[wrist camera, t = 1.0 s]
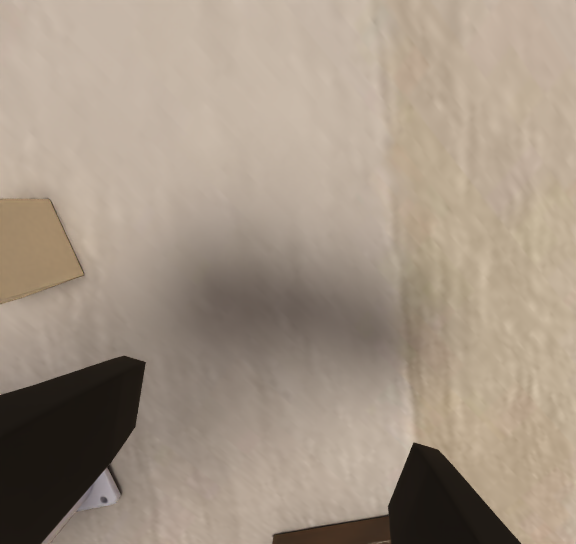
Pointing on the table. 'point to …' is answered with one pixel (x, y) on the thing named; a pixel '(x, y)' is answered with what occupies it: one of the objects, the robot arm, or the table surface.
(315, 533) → the board
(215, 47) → the table surface
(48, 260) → the carton
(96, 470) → the robot arm
